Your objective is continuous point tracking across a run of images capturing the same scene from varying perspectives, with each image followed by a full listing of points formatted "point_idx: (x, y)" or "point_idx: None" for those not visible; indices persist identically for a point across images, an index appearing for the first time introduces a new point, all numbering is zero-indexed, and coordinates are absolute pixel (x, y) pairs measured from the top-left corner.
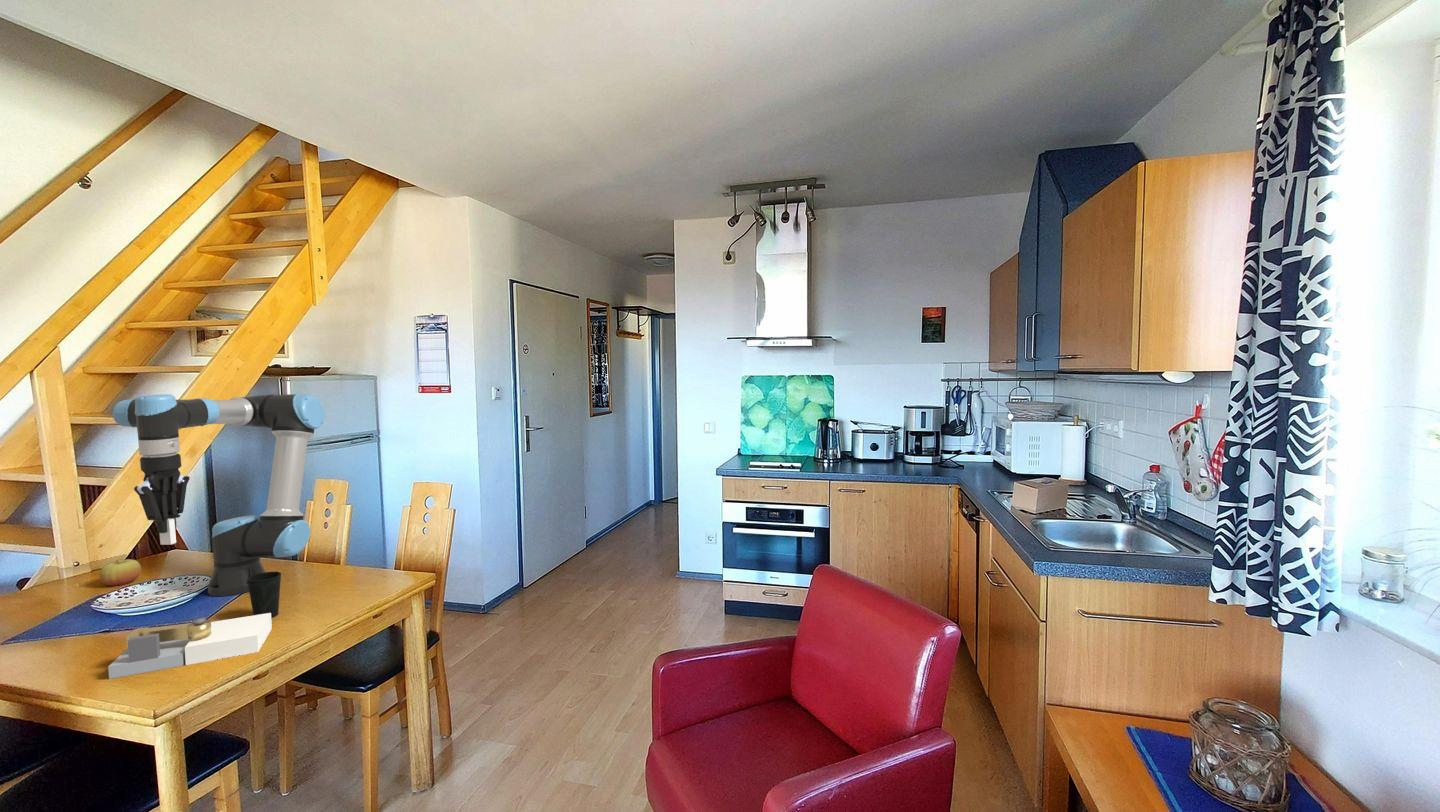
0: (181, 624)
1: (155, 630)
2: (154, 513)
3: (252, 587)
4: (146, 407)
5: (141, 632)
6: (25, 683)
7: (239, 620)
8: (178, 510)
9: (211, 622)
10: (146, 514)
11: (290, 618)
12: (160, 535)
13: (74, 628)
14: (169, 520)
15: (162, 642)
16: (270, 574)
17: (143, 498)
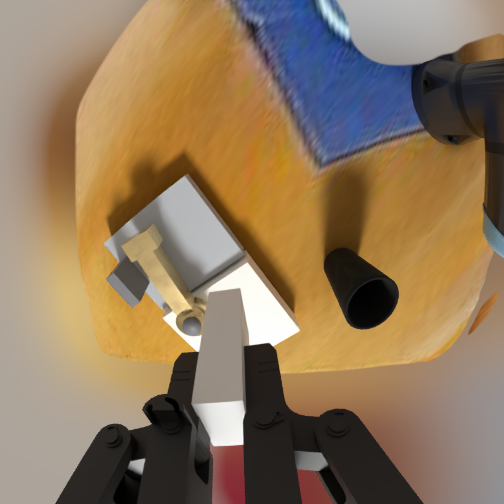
0: (182, 296)
1: (150, 276)
2: (113, 498)
3: (341, 297)
4: None
5: (137, 260)
6: (80, 127)
7: (265, 310)
8: (315, 471)
9: (251, 271)
10: (82, 467)
11: (331, 308)
12: (205, 326)
13: None
14: (217, 443)
15: (183, 238)
16: (393, 291)
17: None
